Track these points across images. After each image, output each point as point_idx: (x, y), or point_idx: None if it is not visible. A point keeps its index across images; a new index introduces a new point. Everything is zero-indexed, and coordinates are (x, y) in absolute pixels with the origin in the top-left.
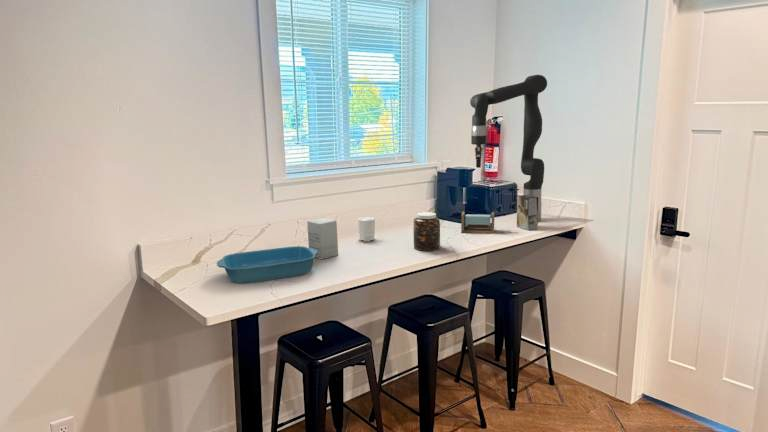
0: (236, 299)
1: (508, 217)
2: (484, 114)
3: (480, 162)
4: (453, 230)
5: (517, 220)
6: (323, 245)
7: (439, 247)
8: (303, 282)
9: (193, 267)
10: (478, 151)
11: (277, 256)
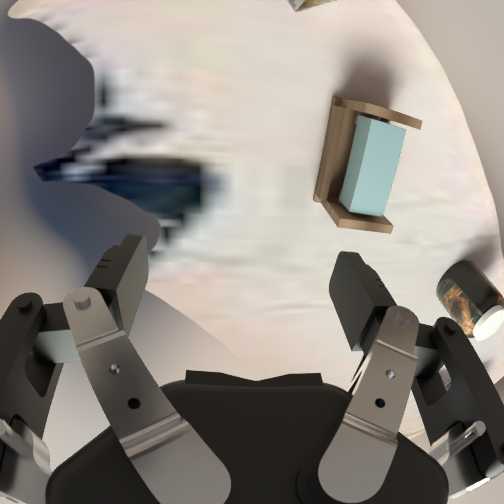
0: (493, 377)
1: (106, 27)
2: None
3: (378, 288)
4: (327, 226)
5: (305, 4)
6: (446, 389)
7: (471, 262)
8: (491, 361)
9: (410, 431)
10: (467, 426)
11: None
